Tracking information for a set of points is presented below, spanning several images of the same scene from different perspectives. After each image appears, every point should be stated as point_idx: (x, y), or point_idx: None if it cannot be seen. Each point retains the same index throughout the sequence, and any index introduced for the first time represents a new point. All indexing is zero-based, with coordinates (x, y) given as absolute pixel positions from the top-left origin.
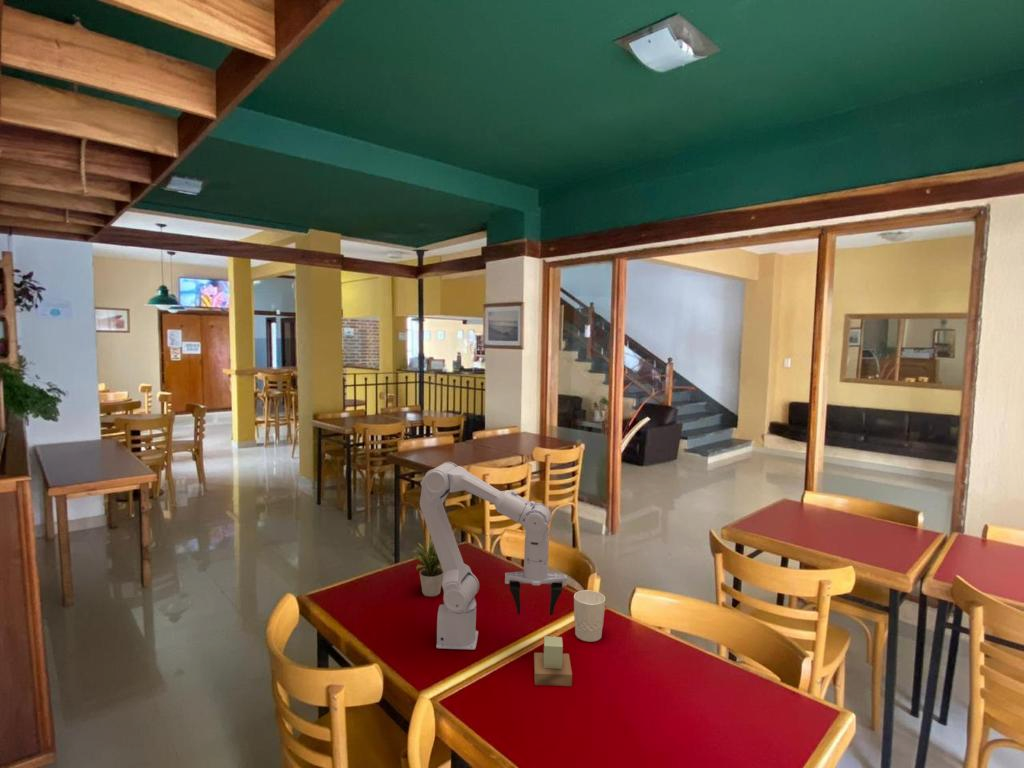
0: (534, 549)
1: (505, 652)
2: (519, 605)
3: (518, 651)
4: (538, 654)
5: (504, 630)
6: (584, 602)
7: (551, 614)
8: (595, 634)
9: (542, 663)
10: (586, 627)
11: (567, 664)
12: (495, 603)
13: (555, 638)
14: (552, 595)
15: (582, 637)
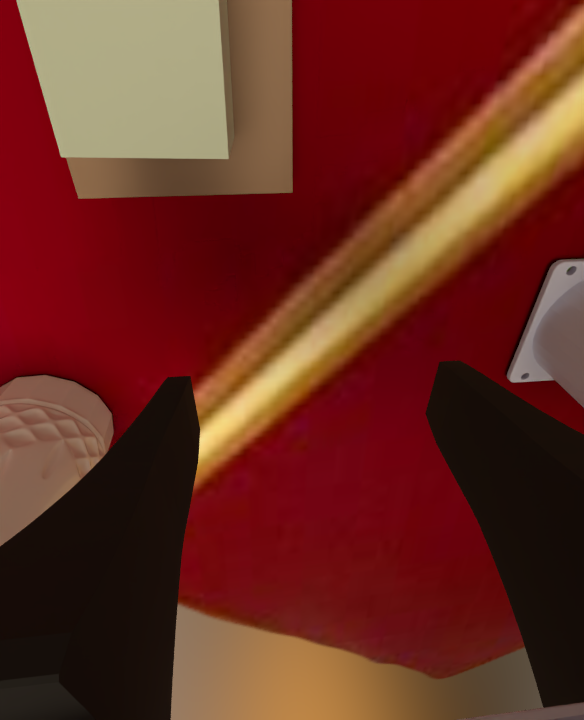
0: None
1: (418, 258)
2: (495, 404)
3: (357, 272)
4: (267, 173)
5: (399, 403)
6: None
7: (173, 380)
8: None
9: (238, 55)
10: (20, 418)
11: None
12: (408, 523)
13: (118, 123)
14: (103, 547)
15: (65, 388)
